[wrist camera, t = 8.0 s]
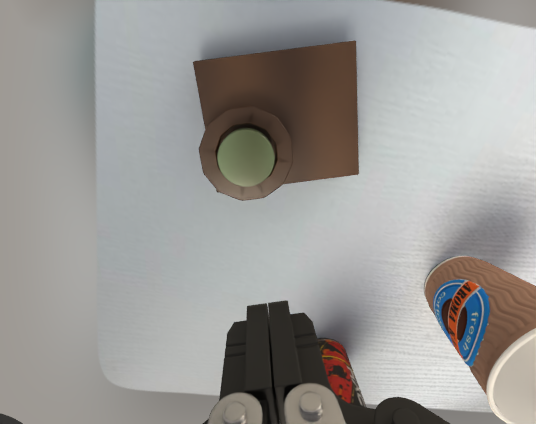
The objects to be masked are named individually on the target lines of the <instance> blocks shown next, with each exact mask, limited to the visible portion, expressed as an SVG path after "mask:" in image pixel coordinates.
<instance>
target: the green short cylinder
mask: <svg viewBox="0 0 536 424" xmlns="http://www.w3.org/2000/svg"><path fill="white" fill-rule="evenodd" d="M217 160H218V166H219V168H220V171H221V172H222V174H223V175H224V177H225V178H226V179H227V180H229V181H230V182H231V183H233V184H235V185H238V186H243V187H250V186H255V185H258V184H260V183H261V182H263V181H264V180H265V179H266V178H267V177H268V176H269V175H270V173H271V171H272V169H273V167H274V161H275V157H274V151H273V148H272V145H271V143H270V141H269V140H268V138H267V137H266V136H265V135H264V134H263V133H261V132H260V131H258V130H256V129H252V128H240V129H237V130H235V131H233V132H231V133H230V134H229V135H228V136H227V137H226V138H225V139H224V140H223V141H222V143H221V145H220V147H219V150H218V155H217Z"/></svg>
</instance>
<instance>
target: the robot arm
mask: <svg viewBox="0 0 536 424" xmlns="http://www.w3.org/2000/svg"><path fill="white" fill-rule="evenodd" d="M268 307H269V313H268ZM268 307H267V303H265V304H258V305H251V306H247V321H240V322H234V324H233V325H232V327H231V328H230V330H229V331H228V333H227V341H226V349H225V358H224V366H223V374H222V383H221V391H220V399H219V402H218V403H217V404H216V405H215V406H214V408H213V409H212V411H211V413H210V416H209V419H208V420H207V421H205V422H204V423H203V424H450V423H448V422H446V421H445V420H443V419H442V418H440V417H439V416H437V415H435V414H434V413H432V412H431V411H429V410H428V409H426V408H424V407H423V406H421V405H420V404H418V403H416V402H414V401H412V400H409V399H406V398H401V397H393V398H388V399H386V400H384V401H382V402H381V403H380V404H379V405H378V406H377V408H376V409H370V408H366V407H360V406H356V405H352V404H350V403H348V402H346V401H344V400H343V399H341V398H340V397H339V396H338V395H337V394H336V393H335V392H334V391H333V389H332V388H331V386H330V383H329V380H328V377H327V373H326V369H325V366H324V362H323V358H322V355H321V351H320V348H319V345H318V340H317V337H316V333H315V329H314V326H313V322H312V321H311V320H310V319H309V317H308V316H307V315H306V314H305V313H298V314H290V312H289V306H288V301H279V302H272V303H268Z"/></svg>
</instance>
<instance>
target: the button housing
mask: <svg viewBox="0 0 536 424" xmlns="http://www.w3.org/2000/svg"><path fill="white" fill-rule="evenodd" d="M193 65H194V70H195V76H196V81H197V86H198V92H199V97H200V103H201V108H202V114H203V119H204V124H205V133H204V135H203V138H202V141H201V144H200V147H199V153H200V158H201V163H202V169H203V173H204V175H205V176H206V177H207V178H208V179H209V181H210V182H211V183H212V184H213V185H214V187H215V188H216V190H217V192H220V193H223V194H226V195H228V196H231V197H233V198H236V199H238V200H242V201H243V200H251V199H259V198H264V197H266V196H268V195H269V194H270V193H272V192H273V191H275V190H276V189H277V188H279V187H280V186H281V185H283V184H288V183H295V182H303V181H311V180H319V179H327V178H335V177H342V176H350V175H358V174H359V162H358V115H357V67H356V41H348V42H340V43H332V44H325V45H317V46H309V47H301V48H294V49H286V50H278V51H270V52H262V53H255V54H247V55H239V56H231V57H224V58H216V59H208V60H200V61H194V62H193ZM240 128H252V129H256V130H258V131H260V132H261V133H263V134H264V135H265V136H266V137H267V138H268V140H269V141H270V143H271V145H272V148H273V151H274V157H275V161H274V167H273V169H272V171H271V173H270V175H269V176H268V177H267V178H266V179H265V180H264V181H263V182H261V183H260V184H258V185H255V186H250V187H243V186H238V185H235V184H233V183H231V182H230V181H229V180H227V179H226V178H225V177H224V175H223V174H222V172H221V171H220V168H219V166H218V160H217V155H218V150H219V147H220V145H221V143H222V141H223V140H224V139H225V138H226V137H227V136H228V135H229V134H230V133H231V132H233V131H235V130H237V129H240Z"/></svg>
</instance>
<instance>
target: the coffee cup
mask: <svg viewBox="0 0 536 424" xmlns="http://www.w3.org/2000/svg"><path fill="white" fill-rule="evenodd" d="M424 294H425V297H426V299H427V302H428V304H429V307H430V308H431V310H432V312H433V313H434V315H435V316H436V318H437V320H438V322H439V324H440V326H441V328H442V330H443V331H444V333H445V334H446V336H447V337H448V339H449V340H450V341H451V343H452V344H453V346H454V347H455V349H456V350H457V352H458V353H459V355H460V356H461V357H462V359H463V360H464V362H465V363H466V364H467V365H468V366H469V367H470V370H471V372H472V373H473V375H474V377H475V378H476V380H477V381H478V383H479V384H480V386H481V387H482V389H483V390H484V392H485V393H486V395H487V399H488V402H489V405H490V407H491V409H492V411H493V412H494V413H495V414H496V415H497V416H498V417H499V418H500V419H502V420H503V421H505V422H506V423H508V424H536V286H534V285H532V284H530V283H528V282H526V281H524V280H522V279H520V278H518V277H516V276H514V275H512V274H510V273H508V272H506V271H504V270H502V269H500V268H498V267H496V266H494V265H492V264H490V263H488V262H486V261H483V260H479V259H477V258H474V257H470V256H456V257H452V258H449V259H447V260H445V261H443V262H441V263H440V264H439V265H437V266H436V267H435V268H434V269H433V270H432V271H431V272H430V274H429V275H428V277H427V279H426V282H425V286H424ZM497 407H498V408H497ZM499 410H500V411H499Z"/></svg>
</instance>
